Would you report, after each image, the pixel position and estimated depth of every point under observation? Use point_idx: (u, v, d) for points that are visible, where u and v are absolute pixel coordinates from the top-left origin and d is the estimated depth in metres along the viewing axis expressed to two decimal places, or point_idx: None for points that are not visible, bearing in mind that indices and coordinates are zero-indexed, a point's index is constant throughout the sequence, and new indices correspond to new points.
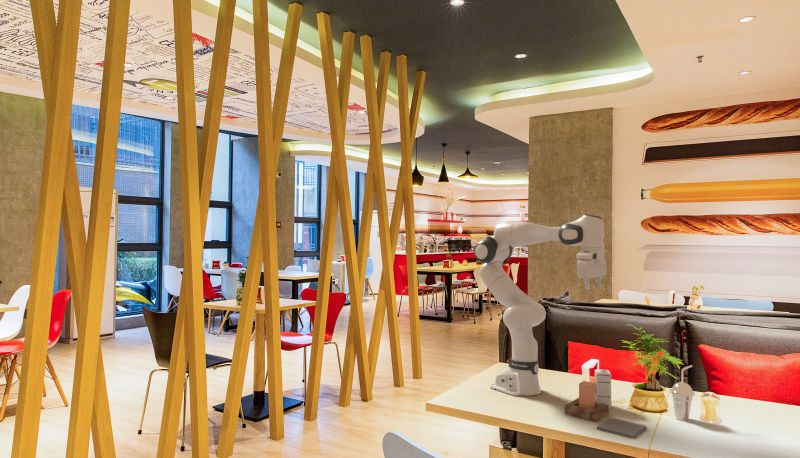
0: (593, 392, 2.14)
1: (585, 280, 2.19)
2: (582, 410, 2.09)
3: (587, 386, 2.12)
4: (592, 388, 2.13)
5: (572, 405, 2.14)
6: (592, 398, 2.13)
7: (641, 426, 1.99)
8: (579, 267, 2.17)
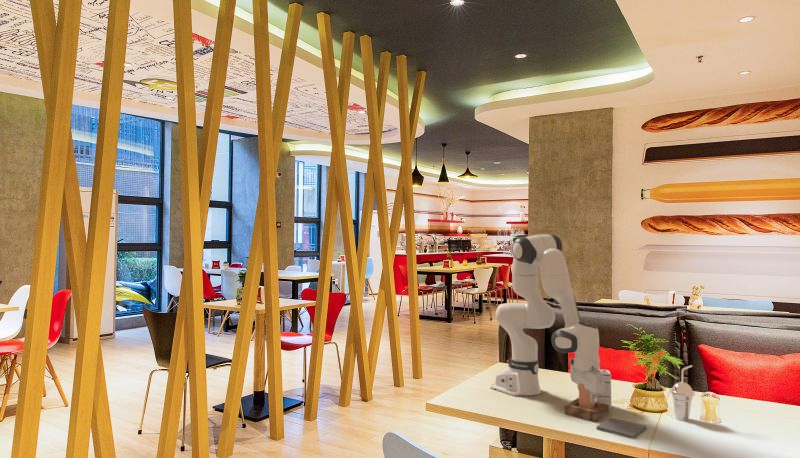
0: None
1: None
2: (582, 410, 2.09)
3: None
4: None
5: (572, 405, 2.14)
6: None
7: (641, 426, 1.99)
8: None
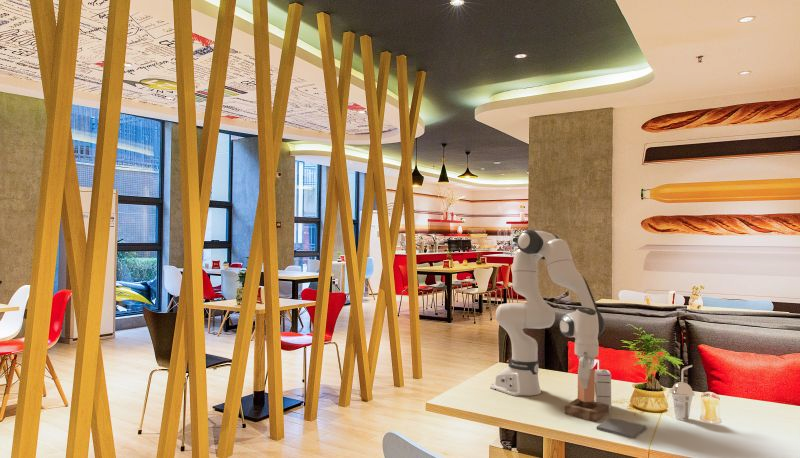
0: (591, 379, 2.13)
1: None
2: (582, 410, 2.09)
3: None
4: None
5: (572, 405, 2.14)
6: (588, 384, 2.12)
7: (641, 426, 1.99)
8: None
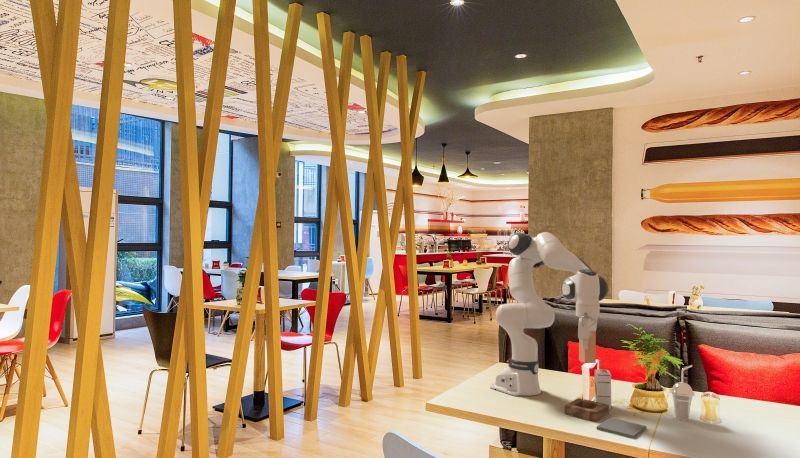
0: (592, 340, 2.12)
1: None
2: (582, 410, 2.09)
3: None
4: None
5: (572, 405, 2.14)
6: (589, 345, 2.12)
7: (641, 426, 1.99)
8: None
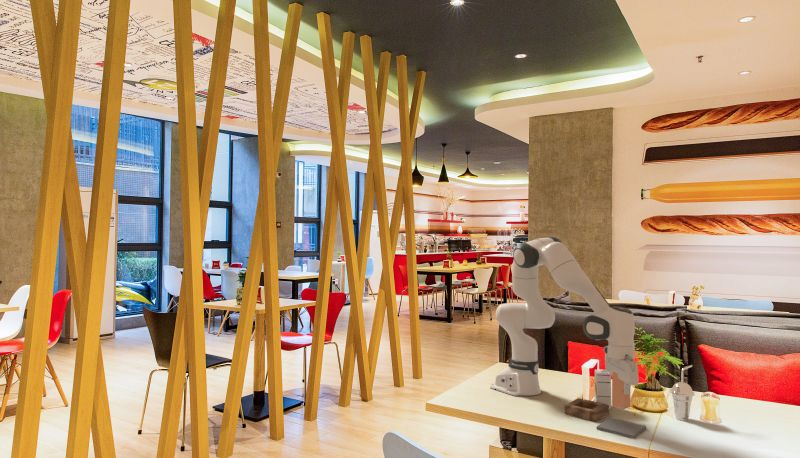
0: None
1: None
2: (582, 410, 2.09)
3: None
4: None
5: (572, 405, 2.14)
6: None
7: (641, 426, 1.99)
8: None
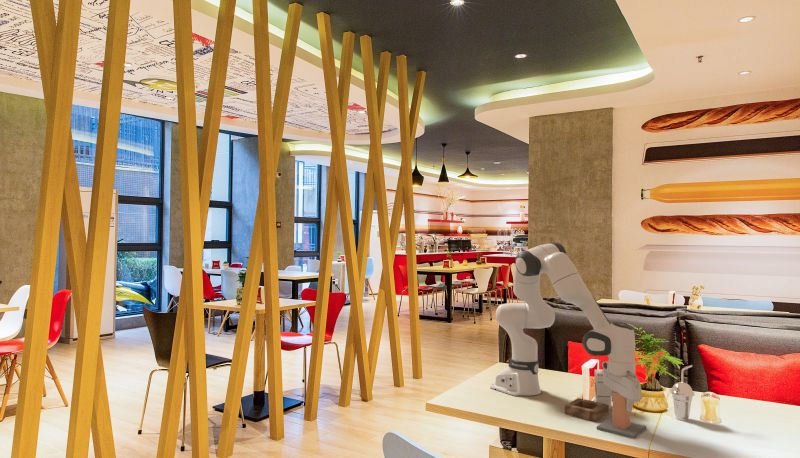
0: None
1: None
2: (582, 410, 2.09)
3: (622, 396, 1.96)
4: None
5: (572, 405, 2.14)
6: None
7: (641, 426, 1.99)
8: None
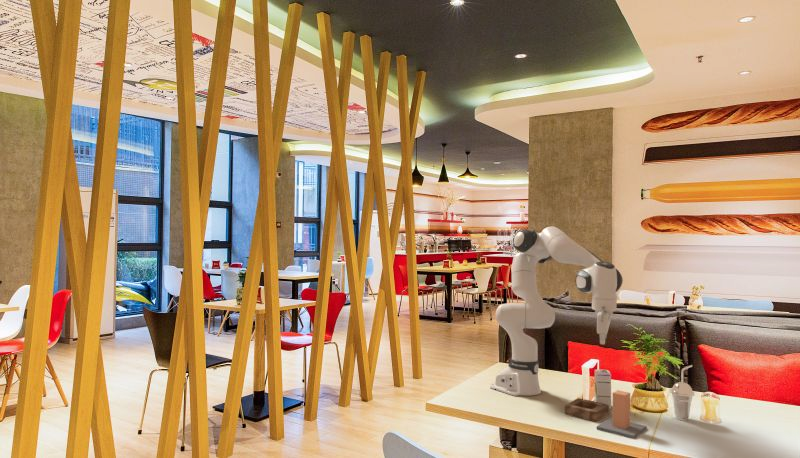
0: (628, 402, 1.98)
1: None
2: (582, 410, 2.09)
3: (622, 396, 1.96)
4: (627, 398, 1.97)
5: (572, 405, 2.14)
6: (627, 408, 1.97)
7: (641, 426, 1.99)
8: None
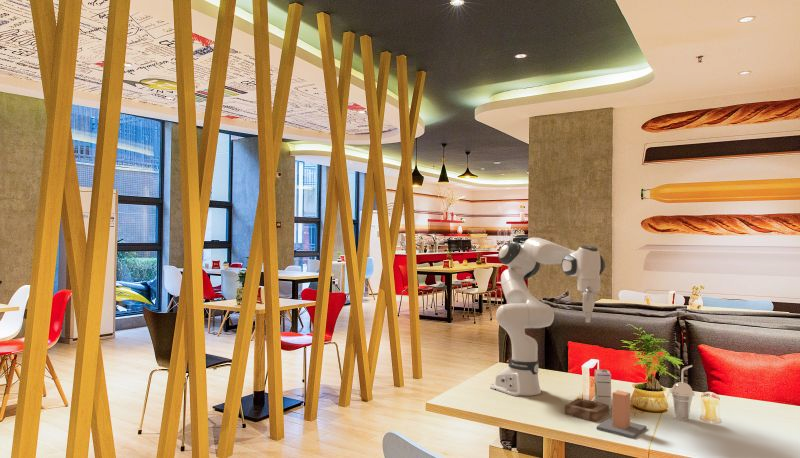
0: (628, 402, 1.98)
1: None
2: (582, 410, 2.09)
3: (622, 396, 1.96)
4: (627, 398, 1.97)
5: (572, 405, 2.14)
6: (627, 408, 1.97)
7: (641, 426, 1.99)
8: None
